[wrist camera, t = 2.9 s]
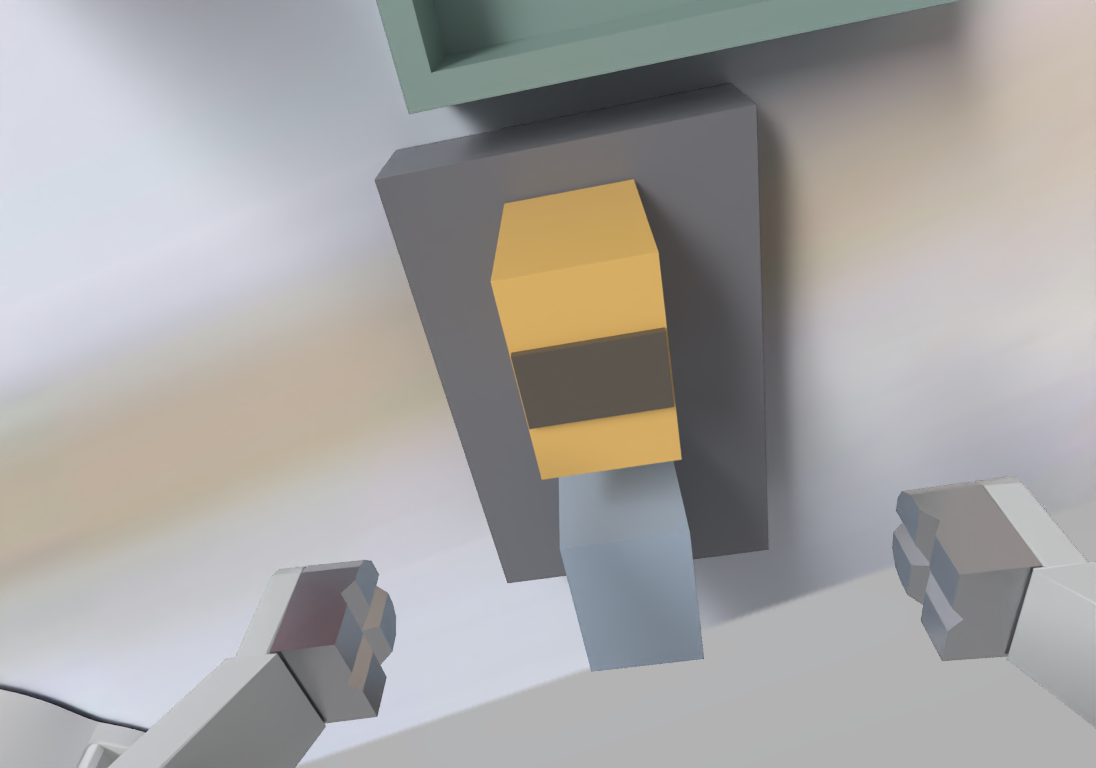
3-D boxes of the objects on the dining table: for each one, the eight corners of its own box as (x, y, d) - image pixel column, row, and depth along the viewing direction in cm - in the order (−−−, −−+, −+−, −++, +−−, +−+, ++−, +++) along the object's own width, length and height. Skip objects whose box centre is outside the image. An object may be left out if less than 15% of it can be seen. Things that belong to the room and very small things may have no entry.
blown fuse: (645, 316, 23) (682, 464, 17) (544, 333, 24) (541, 485, 17) (624, 153, 20) (659, 255, 14) (509, 175, 21) (490, 285, 14)
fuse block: (748, 495, 28) (768, 549, 26) (511, 527, 29) (507, 583, 27) (730, 83, 20) (756, 104, 17) (395, 150, 21) (374, 179, 18)
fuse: (668, 491, 28) (703, 658, 21) (582, 503, 28) (591, 671, 22) (654, 377, 25) (689, 531, 18) (557, 393, 25) (559, 549, 19)
